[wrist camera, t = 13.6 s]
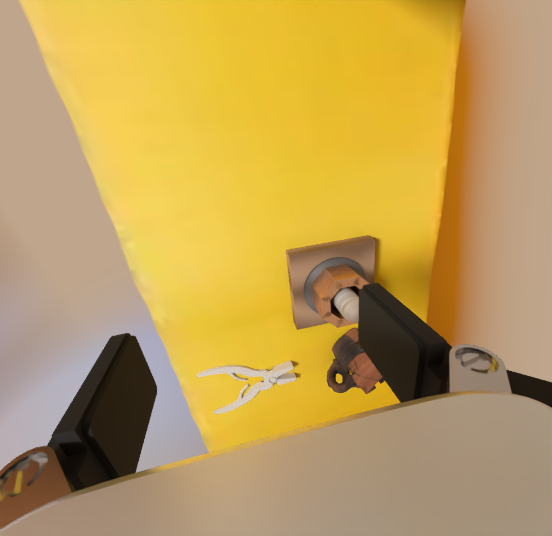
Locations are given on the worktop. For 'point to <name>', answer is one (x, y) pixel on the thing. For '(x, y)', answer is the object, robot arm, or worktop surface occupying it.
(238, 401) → the pliers
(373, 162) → the worktop surface
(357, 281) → the ring
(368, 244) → the shaft block
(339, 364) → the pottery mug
